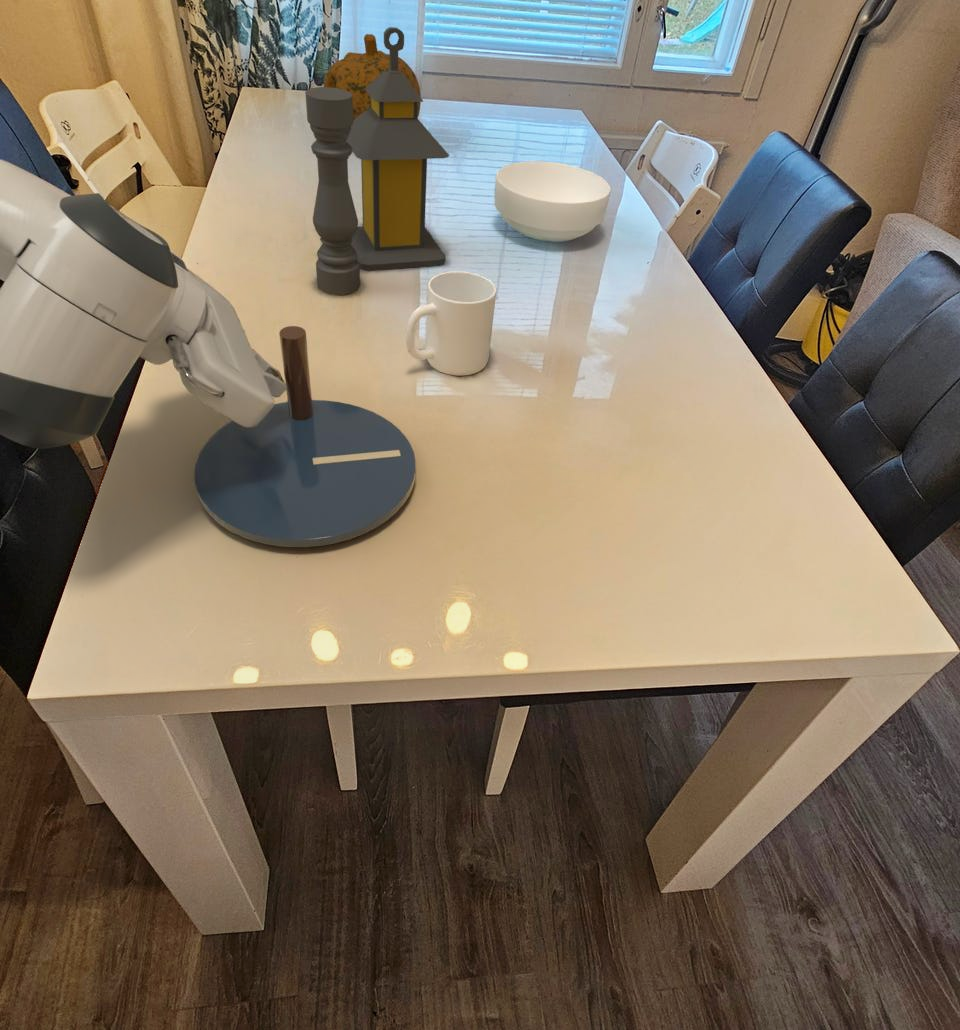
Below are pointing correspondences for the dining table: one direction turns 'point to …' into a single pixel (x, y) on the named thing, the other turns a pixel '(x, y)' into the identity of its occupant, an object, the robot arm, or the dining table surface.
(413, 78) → the decorative pumpkin
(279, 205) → the dining table surface
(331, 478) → the blue disc with peg
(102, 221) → the robot arm
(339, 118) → the candle holder
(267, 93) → the dining table surface
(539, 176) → the bowl
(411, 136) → the lantern
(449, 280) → the cup
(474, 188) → the dining table surface
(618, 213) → the dining table surface
